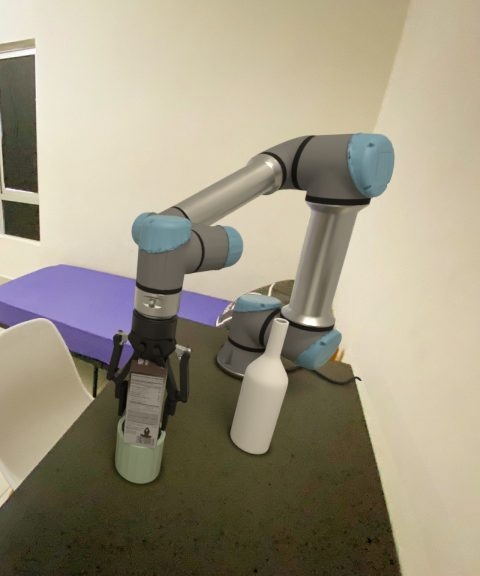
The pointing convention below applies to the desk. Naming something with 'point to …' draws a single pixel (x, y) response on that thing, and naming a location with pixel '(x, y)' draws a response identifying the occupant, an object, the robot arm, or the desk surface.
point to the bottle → (261, 395)
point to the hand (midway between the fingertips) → (142, 418)
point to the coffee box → (144, 403)
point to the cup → (138, 457)
